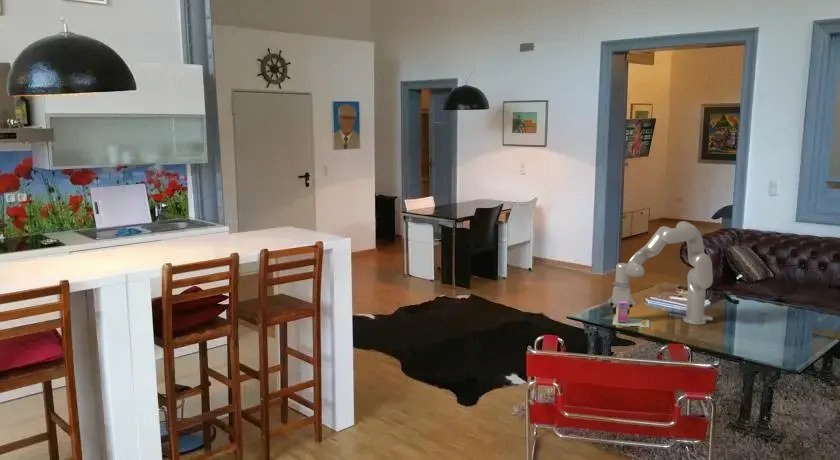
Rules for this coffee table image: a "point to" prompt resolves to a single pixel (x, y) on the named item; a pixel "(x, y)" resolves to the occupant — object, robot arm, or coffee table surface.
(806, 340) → the coffee table surface
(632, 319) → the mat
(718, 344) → the coffee table surface
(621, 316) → the box
